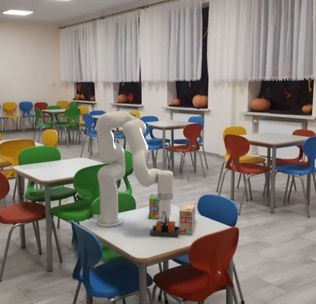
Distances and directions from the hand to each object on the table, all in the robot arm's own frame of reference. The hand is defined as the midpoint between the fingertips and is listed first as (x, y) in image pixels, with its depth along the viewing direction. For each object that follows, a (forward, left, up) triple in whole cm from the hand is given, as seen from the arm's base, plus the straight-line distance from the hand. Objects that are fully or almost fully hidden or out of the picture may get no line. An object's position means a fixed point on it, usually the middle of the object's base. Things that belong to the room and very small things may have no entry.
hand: (165, 230), depth 210 cm
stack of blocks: (+10, +10, -2) cm, 14 cm away
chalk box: (-8, +25, -2) cm, 26 cm away
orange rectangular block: (0, 0, 0) cm, 0 cm away
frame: (0, 0, -1) cm, 1 cm away
